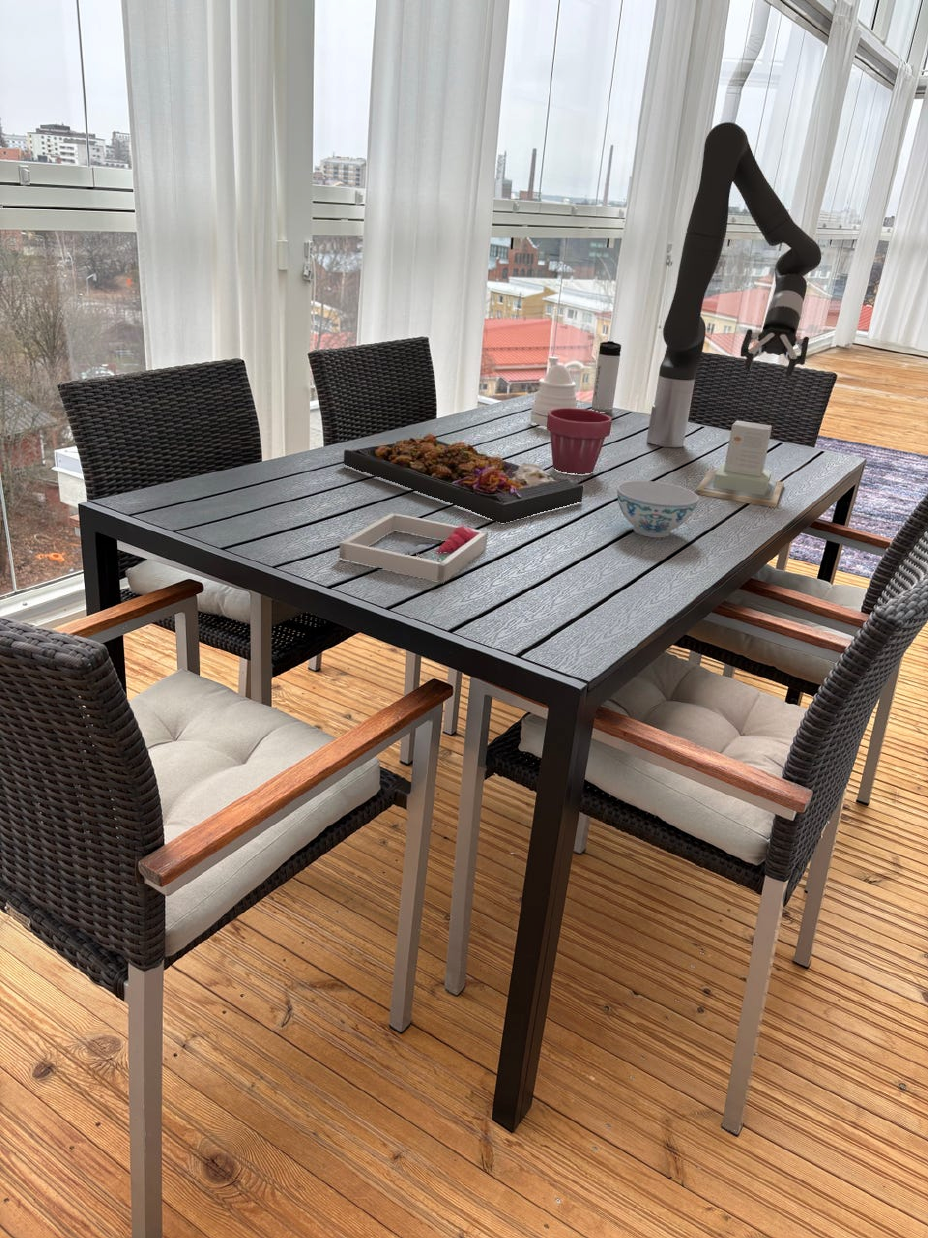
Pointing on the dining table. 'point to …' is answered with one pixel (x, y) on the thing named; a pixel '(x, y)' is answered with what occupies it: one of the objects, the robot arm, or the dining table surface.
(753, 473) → the small box
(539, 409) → the honey pot
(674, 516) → the chinaware
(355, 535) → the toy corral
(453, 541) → the toy pieces
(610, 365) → the travel mug
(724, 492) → the board
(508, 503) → the food platter
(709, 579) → the dining table surface
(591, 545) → the dining table surface
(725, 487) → the plinth
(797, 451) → the dining table surface
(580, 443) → the plant pot
